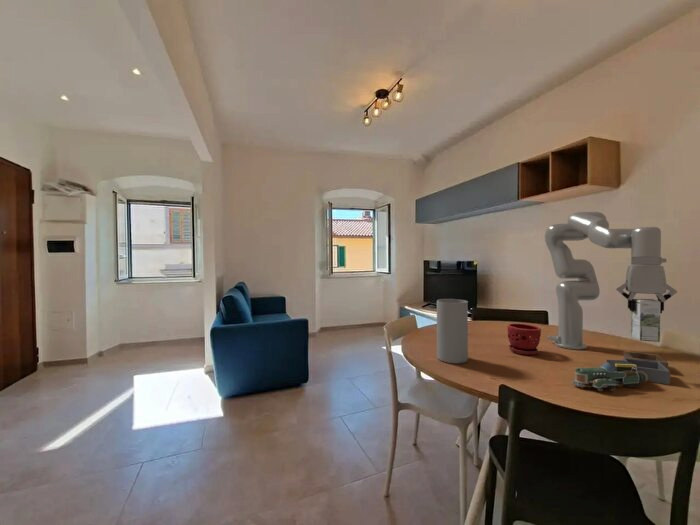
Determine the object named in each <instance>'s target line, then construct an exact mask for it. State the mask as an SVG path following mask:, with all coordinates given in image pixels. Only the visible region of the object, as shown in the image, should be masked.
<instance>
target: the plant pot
mask: <svg viewBox="0 0 700 525" xmlns="http://www.w3.org/2000/svg"><path fill="white" fill-rule="evenodd" d="M541 332H542V329H541V327H539V326H535V325H532V324H527V323H526V324H524V323H509V324H508V325H507V338H508V342H509V345H508V348H509V350H510V351H511V352H513V353H515V354H519V355H526V356H529V355H535V354H538V352H539V349H538V346H539V344H540V341H541V335H542V333H541Z"/></svg>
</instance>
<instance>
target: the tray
mask: <svg viewBox="0 0 700 525" xmlns="http://www.w3.org/2000/svg"><path fill="white" fill-rule="evenodd" d="M621 360H625V361H628V362H630V363H632V364H635V365H637V371H642V372H644V373H646V374H647V375H648V380H647V381H646V382H648V381H649V383H655V382H656V383H657V384H661V383H662V385H663V384H664V385H668V386H669V385H671V371H670V370H669V368H668V369H666V368H665V367H664V366H663V365H662V364H661V363H659V362H652V361H644V360H636V359H628V358H624V357H622V359H621Z"/></svg>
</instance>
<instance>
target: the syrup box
mask: <svg viewBox="0 0 700 525" xmlns="http://www.w3.org/2000/svg"><path fill="white" fill-rule="evenodd" d="M633 300H634V301H635V311H634V312H633V311H630V312H631V315H630V318H631V324H630V325H631V326H630V329H631V330H630V332H631V333H630V334H631V336H630V337H631V338H633V339H635V340H637V341H641V342H653V343H654V342H655V343H660V342H661V313H660V306H661V305H660V304H661V303H660V301H658V299H654V298H633Z"/></svg>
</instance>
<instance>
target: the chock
mask: <svg viewBox="0 0 700 525" xmlns="http://www.w3.org/2000/svg"><path fill="white" fill-rule="evenodd" d="M606 362H608V363H609V364H610V365H611V366H612V367H613V368H614V369H615V370H616V371H630V370H632V371H636V367H637V365H635V364H632V363H630V362H628V361H625V360H622V359H621V360H619V359H606ZM632 365H634V366H633V368H635V369H633V368H632Z"/></svg>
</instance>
